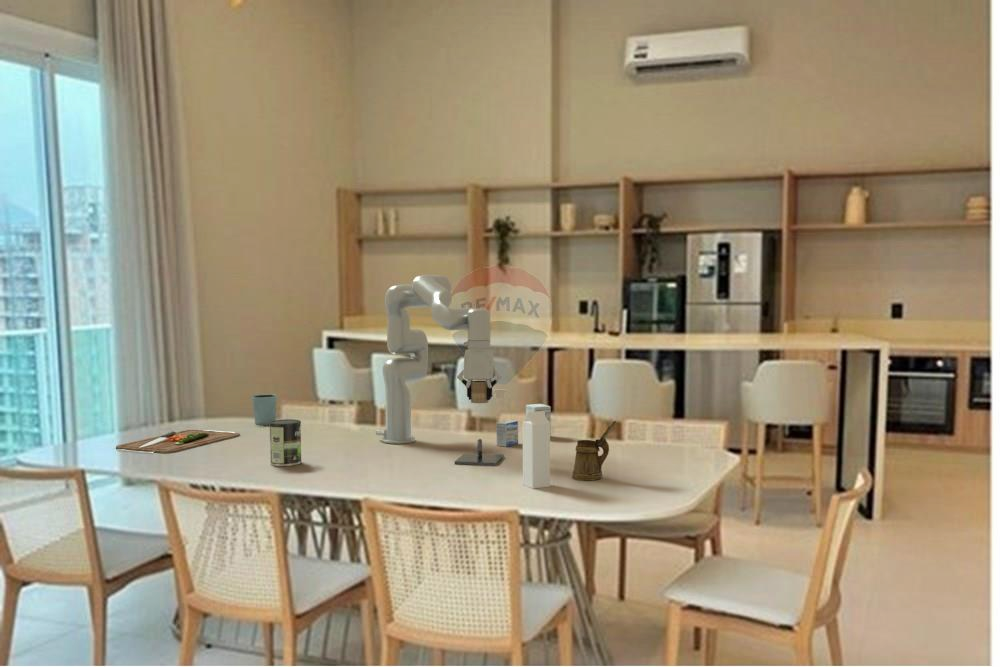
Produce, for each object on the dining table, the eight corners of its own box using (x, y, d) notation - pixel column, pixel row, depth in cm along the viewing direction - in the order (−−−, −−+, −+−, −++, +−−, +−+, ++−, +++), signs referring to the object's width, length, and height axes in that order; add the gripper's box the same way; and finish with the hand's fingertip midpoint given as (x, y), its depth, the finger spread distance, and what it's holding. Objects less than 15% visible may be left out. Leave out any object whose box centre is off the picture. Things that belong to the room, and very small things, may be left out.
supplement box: (525, 436, 333) (525, 404, 332) (541, 435, 336) (541, 403, 336) (534, 439, 326) (534, 407, 326) (551, 438, 330) (551, 405, 329)
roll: (469, 403, 284) (469, 382, 284) (473, 400, 290) (473, 380, 289) (486, 403, 283) (485, 382, 283) (489, 401, 289) (489, 380, 288)
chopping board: (163, 456, 299) (163, 448, 299) (106, 451, 309) (106, 443, 309) (247, 435, 341) (247, 427, 341) (194, 431, 351) (193, 424, 351)
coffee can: (303, 459, 290) (303, 418, 290) (298, 466, 280) (298, 423, 279) (273, 460, 290) (272, 419, 289) (266, 466, 279) (266, 424, 279)
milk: (522, 484, 253) (521, 411, 252) (540, 482, 256) (539, 409, 255) (532, 489, 248) (532, 413, 247) (550, 486, 251) (550, 412, 249)
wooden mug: (613, 482, 255) (613, 423, 254) (569, 479, 260) (569, 420, 259) (618, 476, 264) (619, 418, 263) (576, 473, 268) (576, 416, 267)
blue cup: (281, 422, 370) (281, 394, 370) (266, 425, 361) (265, 397, 361) (263, 420, 375) (262, 393, 374) (247, 424, 365) (247, 396, 365)
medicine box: (505, 447, 312) (505, 423, 311) (496, 445, 315) (496, 422, 314) (518, 444, 318) (518, 420, 318) (509, 442, 321) (508, 419, 320)
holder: (454, 464, 282) (454, 442, 282) (464, 455, 296) (464, 434, 296) (496, 465, 280) (496, 443, 279) (504, 457, 293) (503, 436, 293)
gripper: (451, 346, 284) (452, 400, 284) (502, 346, 280) (502, 401, 281) (456, 344, 291) (457, 397, 292) (506, 345, 288) (506, 398, 289)
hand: (479, 398), depth 286 cm, fingers closed on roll, 5 cm apart
